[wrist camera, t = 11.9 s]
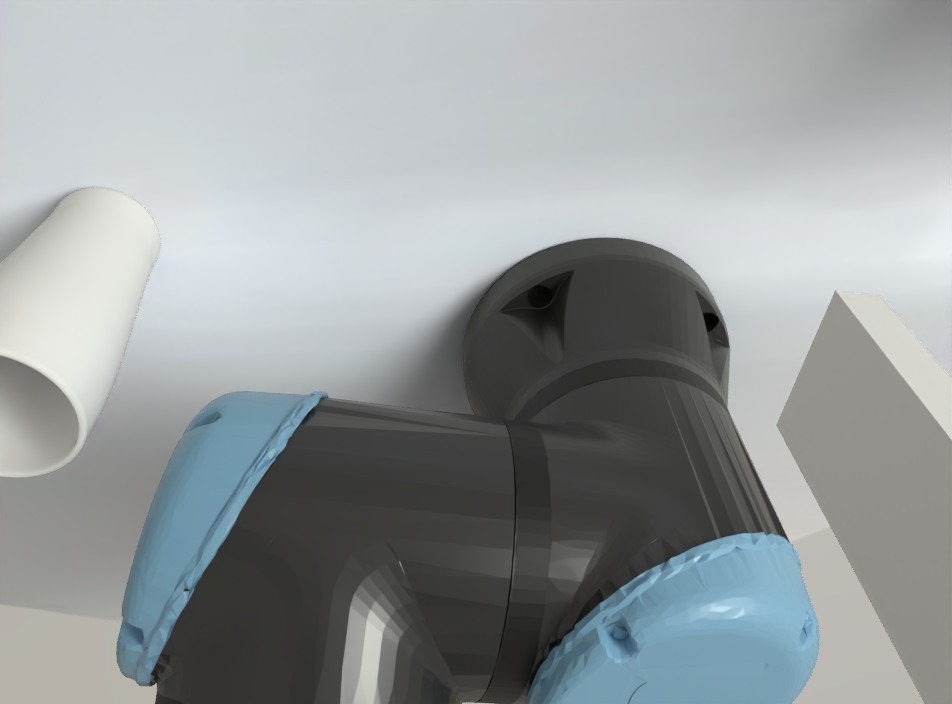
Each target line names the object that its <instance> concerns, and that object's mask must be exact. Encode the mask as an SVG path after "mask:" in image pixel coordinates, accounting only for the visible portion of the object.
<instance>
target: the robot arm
mask: <svg viewBox="0 0 952 704" xmlns="http://www.w3.org/2000/svg"><path fill="white" fill-rule="evenodd" d="M463 362H464V377H465V386H466V392H467V395H468V399H469V402H470V405H471V407H472V410H473V412H474V414H475V415H467V414H457V413H448V412H438V411H429V410H421V409H413V408H405V407H397V406H389V405H381V404H373V403H365V402H357V401H349V400H341V399H333V398H328V394H327V393H324V392H313V393H311V394H310V395H296V394H280V393H265V392H249V391H241V392H233V393H229V394H225V395H223V396H220V397H218V398H216V399H215V400H213V401H212V402H210V403H209V404H208V405H207V406H205V407H204V408H203V409H202V410H201V411H200V412H199V413H198V414H197V415H196V417H195V418H194V419H193V420H192V422H191V423H190V425H189V426H188V428H187V429H186V431H185V432H184V434H183V436H182V438H181V439H180V441H179V443H178V445H177V447H176V448H175V450H174V452H173V454H172V457H171V459H170V461H169V463H168V465H167V467H166V470H165V472H164V474H163V476H162V479H161V481H160V484H159V486H158V489H157V491H156V494H155V496H154V499H153V502H152V504H151V507H150V510H149V513H148V516H147V518H146V521H145V524H144V527H143V530H142V534H141V537H140V540H139V543H138V546H137V550H136V553H135V557H134V560H133V564H132V567H131V571H130V575H129V579H128V583H127V587H126V591H125V596H124V601H123V606H122V616H123V621H122V625H121V629H120V633H119V637H118V641H117V652H116V654H117V663H118V666H119V668H120V671H121V673H122V674H123V675H124V676H125V677H128V678H131V679H134V680H135V681H136V682H137V684H138V685H139V686H152V685H154V684H155V683H157V695H156V701H155V704H462V702H474V703H477V702H479V703H494V704H791V703H792V702H793V701H794V700H795V699H796V698H797V697H798V695H799V694H800V693H801V691H802V690H803V688H804V687H805V685H806V683H807V682H808V680H809V678H810V676H811V674H812V672H813V669H814V667H815V664H816V660H817V655H818V650H819V638H820V635H819V627H818V621H817V618H816V614H815V612H814V609H813V606H812V604H811V601H810V598H809V595H808V592H807V589H806V586H805V583H804V580H803V577H802V574H801V563H800V559H799V555H798V553H797V552H796V550H795V549H794V548H793V545H792V544H790V542H789V540H788V538H787V536H786V534H785V531H784V529H783V527H782V525H781V523H780V521H779V518H778V516H777V514H776V512H775V510H774V508H773V506H772V503H771V501H770V499H769V497H768V495H767V493H766V491H765V488H764V486H763V484H762V482H761V480H760V478H759V476H758V473H757V471H756V469H755V467H754V465H753V463H752V460H751V458H750V456H749V454H748V452H747V450H746V448H745V445H744V443H743V441H742V439H741V437H740V435H739V433H738V430H737V428H736V426H735V424H734V422H733V420H732V418H731V415H730V413H729V411H728V409H727V405H728V383H729V362H730V345H729V337H728V333H727V328H726V325H725V322H724V319H723V316H722V314H721V312H720V310H719V308H718V306H717V304H716V302H715V300H714V298H713V296H712V294H711V292H710V290H709V288H708V287H707V285H706V284H705V282H704V281H703V280H702V278H701V277H700V276H699V275H698V274H697V273H696V272H695V271H694V270H693V269H692V268H691V267H690V266H689V265H688V264H686V263H685V262H684V261H682V260H681V259H679V258H678V257H676V256H675V255H673V254H671V253H669V252H667V251H665V250H663V249H661V248H658V247H656V246H653V245H650V244H647V243H643V242H639V241H634V240H628V239H620V238H593V239H584V240H578V241H573V242H568V243H565V244H561V245H558V246H555V247H552V248H549V249H546V250H544V251H542V252H539V253H537V254H535V255H533V256H531V257H529V258H528V259H526V260H524V261H522V262H521V263H519V264H518V265H516V266H515V267H513V268H512V269H511V270H509V271H508V272H507V273H505V274H504V275H503V276H502V277H501V278H500V279H499V280H498V281H497V282H496V283H495V284H494V285H493V286H492V287H491V288H490V289H489V290H488V292H487V293H486V294H485V295H484V297H483V298H482V299H481V301H480V302H479V304H478V306H477V307H476V309H475V311H474V313H473V315H472V317H471V319H470V322H469V324H468V328H467V331H466V335H465V340H464V348H463ZM777 427H778V429H779V431H780V433H781V435H782V436H783V438H784V440H785V442H786V444H787V446H788V448H789V450H790V451H791V453H792V455H793V457H794V459H795V461H796V463H797V465H798V467H799V468H800V470H801V472H802V474H803V476H804V478H805V480H806V482H807V483H808V485H809V487H810V489H811V491H812V493H813V495H814V497H815V498H816V500H817V502H818V504H819V506H820V508H821V510H822V512H823V514H824V515H825V517H826V519H827V521H828V523H829V525H830V527H831V529H832V530H833V532H834V534H835V536H836V538H837V540H838V541H839V544H840V545H841V547H842V549H843V551H844V553H845V555H846V557H847V559H848V560H849V562H850V564H851V566H852V568H853V570H854V572H855V574H856V575H857V577H858V579H859V581H860V583H861V585H862V587H863V588H864V590H865V592H866V594H867V596H868V598H869V600H870V602H871V603H872V606H873V607H874V609H875V611H876V613H877V615H878V617H879V619H880V621H881V623H882V624H883V626H884V628H885V630H886V632H887V634H888V636H889V638H890V639H891V641H892V643H893V645H894V647H895V649H896V651H897V652H898V654H899V656H900V658H901V660H902V662H903V664H904V666H905V668H906V670H907V671H908V673H909V675H910V677H911V679H912V681H913V683H914V684H915V686H916V688H917V690H918V692H919V694H920V696H921V697H922V699H923V701H924V703H925V704H952V378H951V377H950V376H949V375H948V374H947V372H946V371H945V370H944V369H943V368H942V367H941V365H940V364H939V363H938V362H937V361H936V360H935V358H934V357H933V356H932V355H931V354H930V353H929V351H928V350H927V349H926V348H925V347H924V345H923V344H922V343H921V342H920V341H919V340H918V338H917V337H916V336H915V335H914V334H913V333H912V331H911V330H910V329H909V328H908V327H907V326H906V324H905V323H904V322H903V321H902V320H901V319H900V317H899V316H898V315H897V314H896V313H895V311H894V310H893V309H892V308H891V307H890V306H889V304H888V303H887V302H886V301H885V300H884V299H883V297H882V296H881V295H874V294H865V293H855V292H845V291H836V290H835V293H834V295H833V297H832V299H831V302H830V304H829V306H828V309H827V311H826V313H825V315H824V318H823V320H822V322H821V325H820V327H819V329H818V331H817V334H816V336H815V338H814V341H813V343H812V345H811V347H810V350H809V352H808V354H807V357H806V359H805V361H804V363H803V366H802V368H801V370H800V373H799V375H798V377H797V379H796V382H795V384H794V386H793V389H792V391H791V393H790V395H789V398H788V400H787V402H786V405H785V407H784V409H783V411H782V414H781V416H780V418H779V420H778V423H777Z"/></svg>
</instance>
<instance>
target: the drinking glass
mask: <svg viewBox="0 0 952 704" xmlns="http://www.w3.org/2000/svg"><path fill="white" fill-rule="evenodd" d="M160 248H161V238H160V232H159V229H158V226H157V224H156V222H155V220H154V218H153V217H152V215H151V214H150V212H149V211H148V210H147V209H146V208H145V207H144V206H143V205H142V204H141V203H140V202H138V201H137V200H136V199H134V198H133V197H131V196H129V195H127V194H125V193H123V192H121V191H118V190H115V189H111V188H105V187H89V188H83V189H80V190H77V191H75V192H73V193H71V194H69V195H67V196H66V197H65V198H64V199H62V200H61V202H60V203H59V204H58V205H57V206H56V207H55V209H54V210H53V211H52V213H51V214H50V215H49V216H48V217H47V218H46V219H45V220H44V221H43V222H42V223H41V224H40V225H39V226H38V227H37V228H36V229H35V230H34V231H33V232H32V233H31V234H30V235H29V236H28V237H27V238H26V239H25V240H24V241H23V242H22V243H21V244H20V245H19V246H18V247H17V248H16V249H14V250H13V251H12V252H11V253H10V254H9V255H8V256H7V257H6V258H5V259H4V260H3V261H2V262H1V263H0V477H8V478H28V477H35V476H40V475H45V474H48V473H51V472H53V471H56V470H58V469H60V468H62V467H64V466H65V465H67V464H68V463H69V462H71V461H72V460H73V459H74V458H75V457H76V456H77V455H78V453H79V452H80V451H81V449H82V447H83V445H84V443H85V442H86V440H87V438H88V436H89V435H90V433H91V431H92V429H93V428H94V426H95V424H96V422H97V420H98V418H99V416H100V414H101V412H102V410H103V408H104V406H105V404H106V402H107V400H108V398H109V395H110V393H111V391H112V388H113V386H114V383H115V381H116V378H117V375H118V372H119V369H120V366H121V363H122V360H123V357H124V354H125V351H126V348H127V345H128V341H129V338H130V335H131V332H132V329H133V325H134V322H135V319H136V316H137V313H138V310H139V307H140V303H141V300H142V297H143V294H144V291H145V288H146V285H147V282H148V279H149V276H150V273H151V271H152V269H153V267H154V265H155V263H156V261H157V259H158V256H159V253H160Z"/></svg>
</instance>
